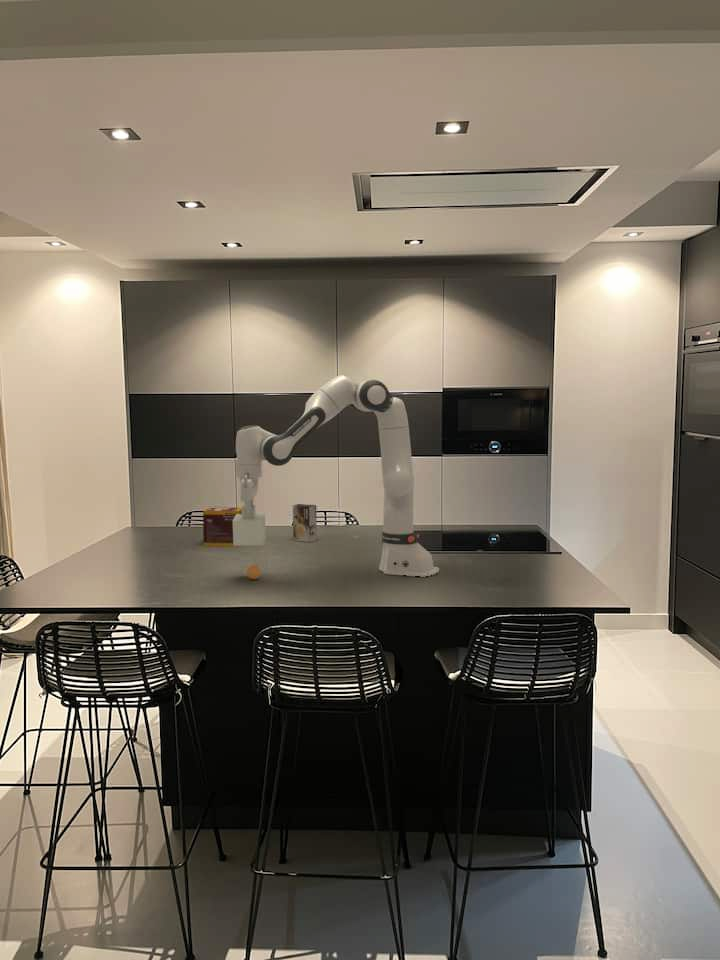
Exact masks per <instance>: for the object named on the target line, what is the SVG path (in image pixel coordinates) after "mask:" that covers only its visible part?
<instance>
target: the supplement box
mask: <svg viewBox="0 0 720 960" xmlns="http://www.w3.org/2000/svg"><path fill="white" fill-rule="evenodd" d="M202 514H203V515H202V518H203V519H202V522H203V523H202V524H203V525H202V529H203V531H202V532H203V533H202V534H203V543H202V544H203V547H234V546H233V519H234V517H235V516H236V514H243V513H242V507H228V506H227V507H226V506H225V507H222V506H221V507H219V506H218V507H215V506H214V507H211V506H210V507H207V508H206V509H204V510H203V513H202Z"/></svg>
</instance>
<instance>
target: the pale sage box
mask: <svg viewBox="0 0 720 960" xmlns="http://www.w3.org/2000/svg"><path fill="white" fill-rule="evenodd" d="M241 508H242V514H236V516H235V517H234V519H233V546H232V547H239V546H263V545H264V543H265V540H266V514H265V513H256V504H253V505H251V512H250V513H246V509H245V504H243V505H242V507H241Z"/></svg>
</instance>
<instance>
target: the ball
mask: <svg viewBox="0 0 720 960" xmlns="http://www.w3.org/2000/svg"><path fill="white" fill-rule="evenodd" d="M261 574H262V570H261V568H260V567H259V566H258V565H256V564H253V565H252V564H251V565H250V566H249V567H248V568H247V569H246V575H247V577H248V579H251V580H258V579H259V578H260V577H261Z"/></svg>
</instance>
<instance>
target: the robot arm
mask: <svg viewBox="0 0 720 960" xmlns="http://www.w3.org/2000/svg"><path fill="white" fill-rule="evenodd" d="M347 406H351V407H353V408H354V409H355V410H357V411H359V412H368V413H369V412H373V413H374V414H375V416H376V419H377V423H378V436H379V445H380V458H381V459H380V460H381V472H382V484H383V487H384V488H383V490H384V492H383V521H382V523H383V525H382V526H383V527H382V528H383V531H382V532H381V533H382V534H381V544H382V551H381V556H380V557H381V558H380V563H379V566H378V570H379V571H381V572H382V573H383V574H384V575H392V576H403V575H406V577H415V576H420V577H419V578H426V576H428V577H431V575H432V576H434V575H436V573H437V574H438V573H439V572H440V568H439V567H438V566H434V561H433V556H432V554H431V553H430V552H429V551H428V550H427V549H425V547H423V546H422V545H421V544H420V543H419V542H418V539H419V538H420V537H419V536H420V534H416V533H415V532H414V483H415V482H414V481H415V478H414V470H413V460H412V459H413V458H412V447H411V437H410V426H409V421H408V420H409V418H408V413H407V410H406V406H405V403H404V401H403V400H402V399H401V398H398V397H396V396H395V397H393V395H392V394H391V392H390V391H389V389H388V387H387V385H385V384H384V383H383V382H382V381H380V380H377V379H371V380H368V379H367V380H364V381H362V382H359V383H355V382H354V381H353V380H352V379H351V378H350V377H348V376H347V375H343V374H340V375H339V374H338V375H337V376H335V377H333V378H332V379H330V380H328V381H327V382H326V383H324V384H323V385H321V387H319V388H318V389H316V391H314V393H313V394H312V395H311V396H310V397H309V398H308V400H307V401H306V402H305V407H304V408H305V409H304V412H303V415H302V416H301V417H300V418H299V419H298V420H297V421H296V422H294V423H293V424H292V425H291V427H289V428H288V429H287V430H286V431H285V432H283V433H281V434H278V435H277V434H275V433H272V432H270V431H268V430H265V429H263V428H262V427H260V426H259V425H256V424H252V425H246V426H243V427H241V428H239V429H238V430H237V431H236V436H235V438H236V439H235V453H236V460H235V476H236V478H238V479H239V482H240V502H242V503H244V505H245V509H246V513H250V512H251V505H254V501H255V500H254V498H255V497H256V496H257V494H258V490H259V488H258V487H259V478H262V477H263V473H262V472H263V471H262V469H263V468H262V462H263V461H267V463H269V464H270V465H273V466H276V467H278V466H279V467H280V466H284V465H286V464H288V463H290V461H291V460H292V458H293V456H294V454H295V453H296V450H297V448H298V447H299V446H300V445H301V444H302V443H303V442H304V441H305V440H306V439H307V438H308V437H309V436H310V435H311V434H312V433H313V432H314V431H316V430H317V429H318V428H320V427H321V426H322V425H324V424H326V423H327V422H329V421H331V419H333V418H334V417H336V416H337V415H338V414H339V413H340V412H341V411H342V410H344V408H345V407H347Z"/></svg>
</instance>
